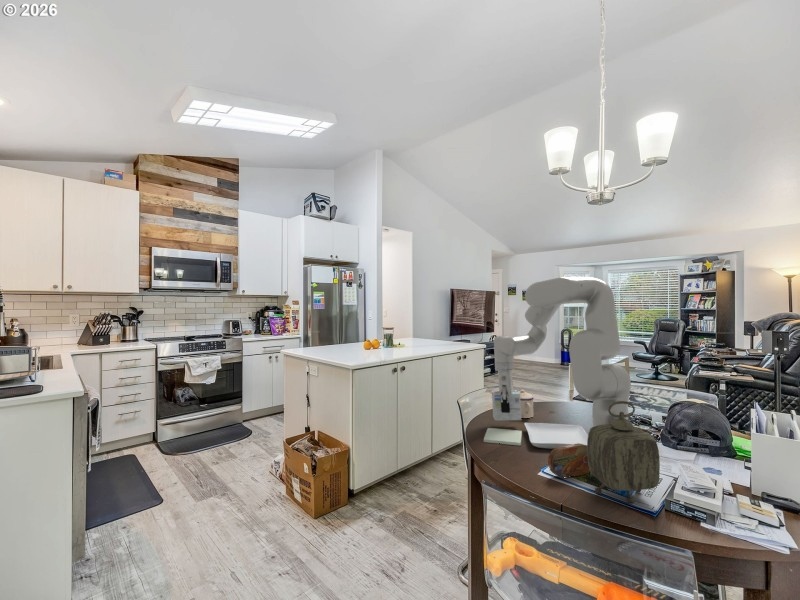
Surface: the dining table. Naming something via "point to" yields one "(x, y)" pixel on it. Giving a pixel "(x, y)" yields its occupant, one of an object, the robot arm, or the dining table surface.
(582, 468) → the tin
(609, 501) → the dining table surface
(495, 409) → the light bulb box
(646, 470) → the tabletop clock
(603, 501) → the dining table surface
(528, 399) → the teacup with lid
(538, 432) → the salad plate
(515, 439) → the sage mat
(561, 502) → the dining table surface
